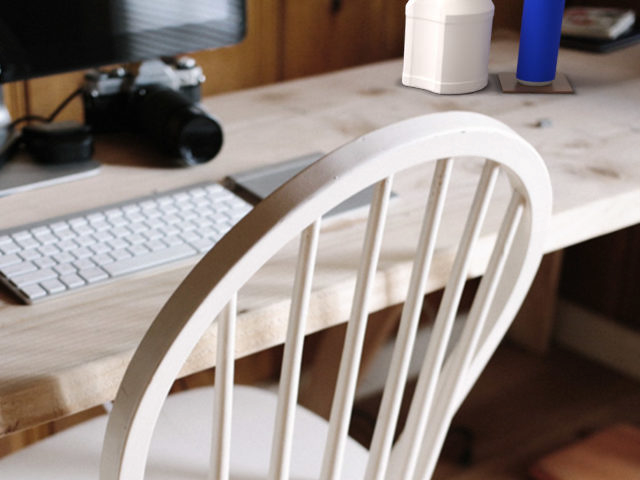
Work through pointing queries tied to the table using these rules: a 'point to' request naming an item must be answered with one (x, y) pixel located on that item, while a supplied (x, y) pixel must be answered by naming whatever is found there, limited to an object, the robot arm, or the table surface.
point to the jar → (447, 45)
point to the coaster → (513, 86)
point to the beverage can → (539, 41)
